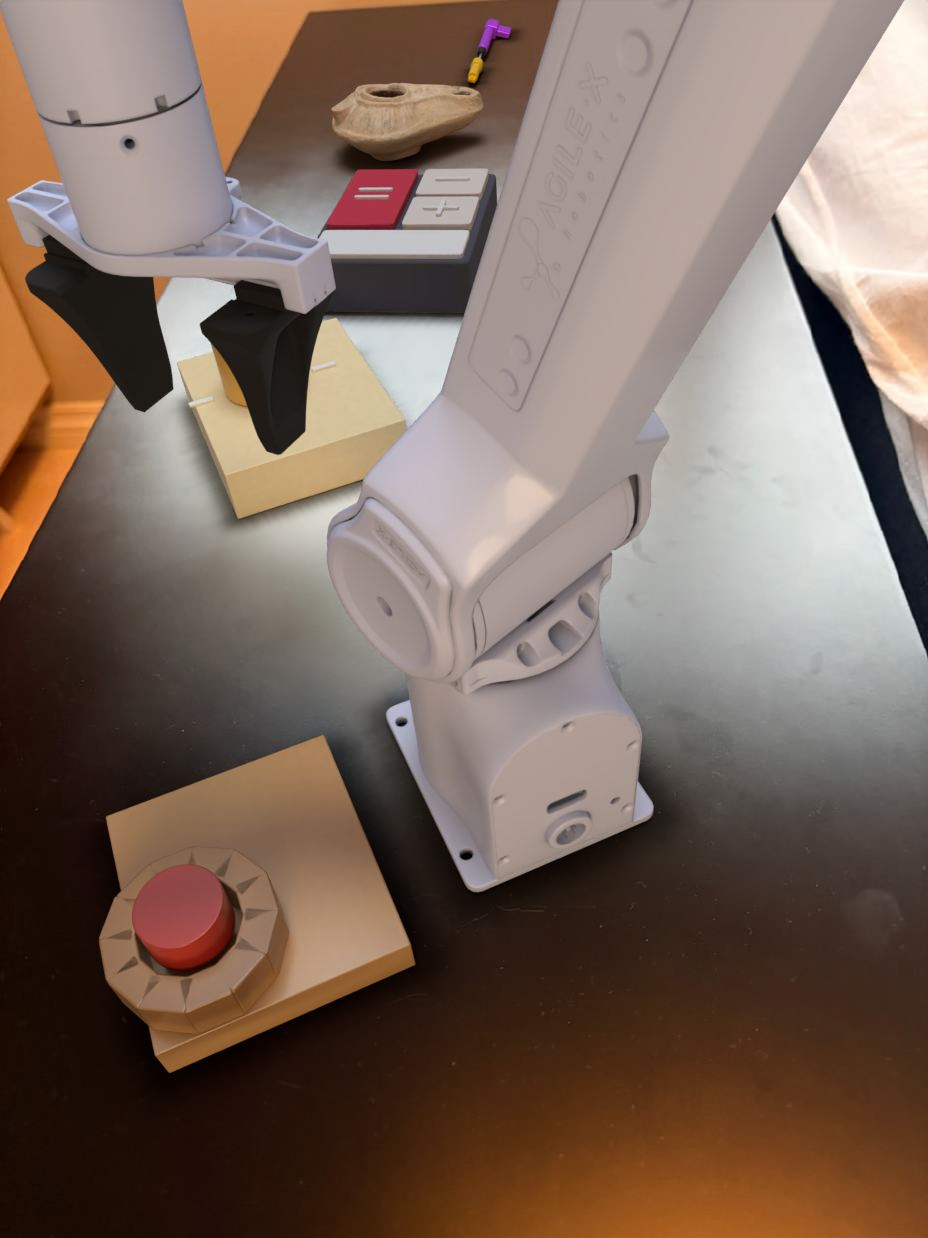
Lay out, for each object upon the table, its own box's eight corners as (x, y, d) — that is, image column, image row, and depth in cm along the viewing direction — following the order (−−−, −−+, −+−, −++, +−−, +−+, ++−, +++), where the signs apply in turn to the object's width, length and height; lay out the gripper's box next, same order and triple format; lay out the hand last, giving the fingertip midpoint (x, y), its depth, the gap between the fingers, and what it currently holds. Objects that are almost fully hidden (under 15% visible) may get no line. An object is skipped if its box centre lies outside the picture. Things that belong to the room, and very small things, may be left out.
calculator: (496, 162, 73) (467, 250, 63) (498, 220, 76) (471, 314, 66) (351, 163, 75) (299, 249, 64) (359, 220, 78) (310, 312, 67)
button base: (416, 965, 36) (405, 920, 33) (150, 1082, 33) (116, 1044, 31) (330, 757, 42) (315, 707, 40) (103, 844, 40) (72, 797, 37)
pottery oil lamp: (498, 150, 82) (468, 83, 76) (369, 210, 86) (330, 151, 79) (477, 77, 86) (447, 7, 80) (354, 137, 89) (315, 75, 83)
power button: (245, 949, 33) (233, 925, 32) (157, 987, 32) (140, 964, 31) (224, 876, 35) (211, 850, 34) (139, 909, 34) (124, 885, 33)
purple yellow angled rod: (485, 27, 104) (464, 86, 94) (487, 15, 104) (466, 72, 93) (510, 33, 104) (491, 92, 94) (512, 21, 104) (494, 79, 93)
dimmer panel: (411, 464, 55) (405, 417, 53) (232, 521, 53) (218, 474, 51) (343, 359, 63) (335, 314, 61) (185, 405, 61) (170, 360, 59)
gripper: (356, 77, 34) (402, 409, 44) (55, 37, 40) (156, 340, 49) (227, 158, 30) (309, 504, 40) (-88, 101, 35) (53, 417, 45)
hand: (218, 419), depth 44 cm, fingers open, 7 cm apart
